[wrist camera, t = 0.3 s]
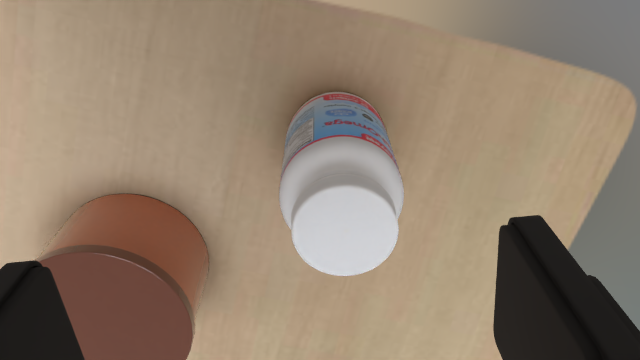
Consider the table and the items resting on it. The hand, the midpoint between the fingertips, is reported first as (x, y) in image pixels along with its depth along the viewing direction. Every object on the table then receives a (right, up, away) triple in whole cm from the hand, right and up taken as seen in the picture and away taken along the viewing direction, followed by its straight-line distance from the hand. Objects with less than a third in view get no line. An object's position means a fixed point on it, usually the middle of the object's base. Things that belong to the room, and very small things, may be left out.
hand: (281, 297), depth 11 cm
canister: (-12, -3, +26) cm, 28 cm away
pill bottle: (+2, +5, +22) cm, 23 cm away
